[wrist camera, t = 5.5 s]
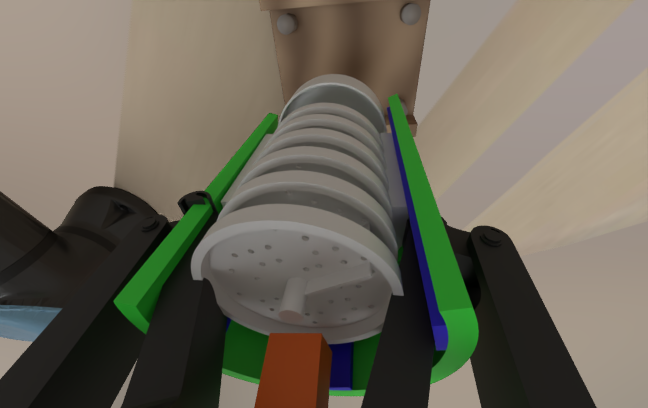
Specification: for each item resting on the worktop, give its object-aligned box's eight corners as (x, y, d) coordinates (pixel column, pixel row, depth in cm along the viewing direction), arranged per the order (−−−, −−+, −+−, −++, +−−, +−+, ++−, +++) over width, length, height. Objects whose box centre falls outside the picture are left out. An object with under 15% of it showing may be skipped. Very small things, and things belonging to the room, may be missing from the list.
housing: (291, 127, 36) (284, 141, 32) (269, -13, 26) (256, -14, 23) (409, 123, 34) (415, 138, 30) (431, -29, 24) (443, -33, 21)
